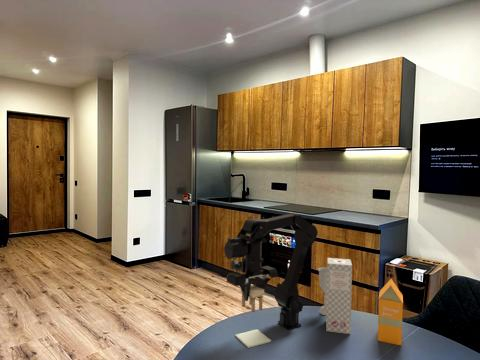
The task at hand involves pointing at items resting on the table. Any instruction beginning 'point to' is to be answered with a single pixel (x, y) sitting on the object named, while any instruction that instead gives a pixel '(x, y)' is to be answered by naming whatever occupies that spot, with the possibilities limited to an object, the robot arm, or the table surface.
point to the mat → (252, 338)
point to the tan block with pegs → (253, 294)
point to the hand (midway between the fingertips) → (252, 299)
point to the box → (339, 295)
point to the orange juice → (390, 314)
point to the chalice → (323, 287)
